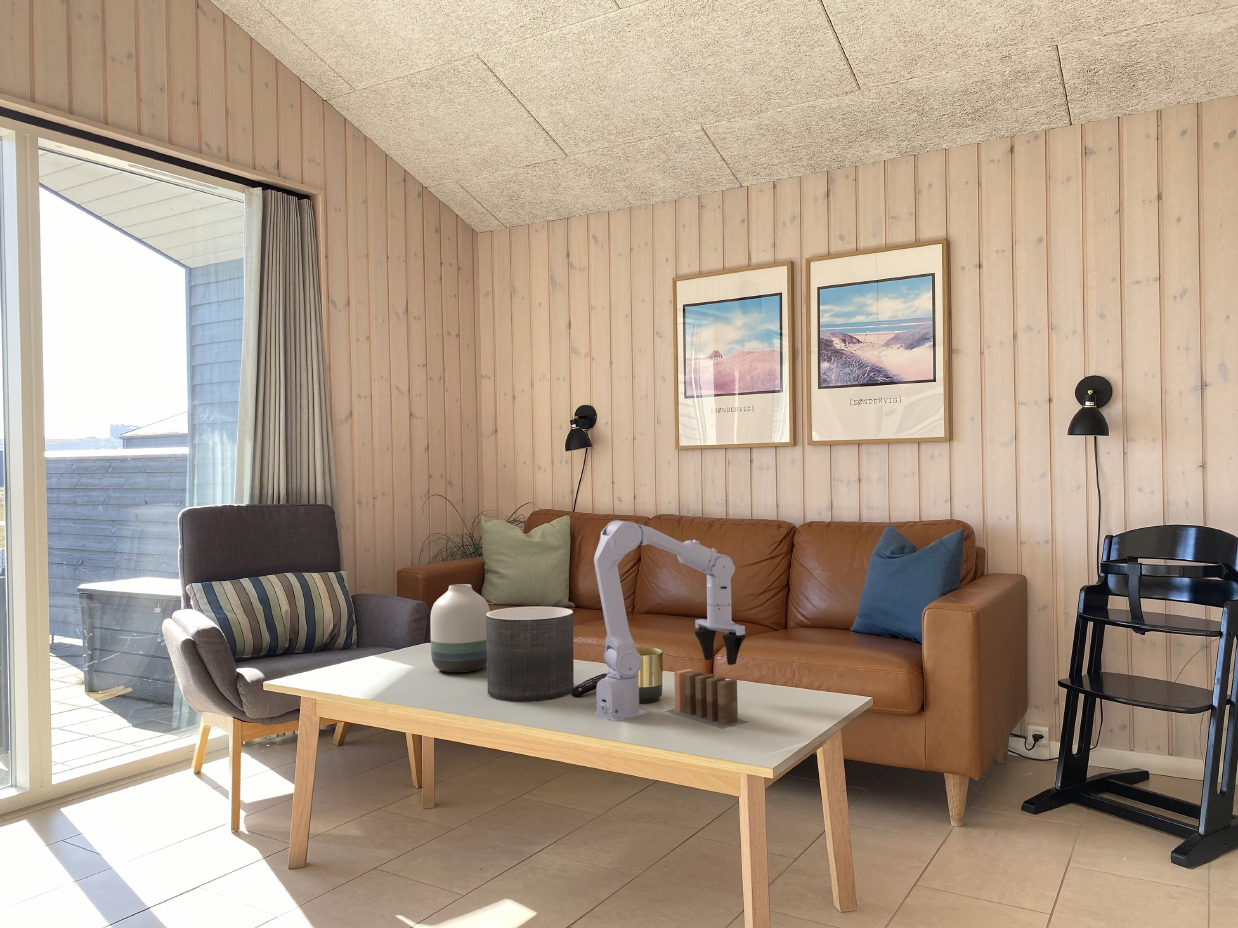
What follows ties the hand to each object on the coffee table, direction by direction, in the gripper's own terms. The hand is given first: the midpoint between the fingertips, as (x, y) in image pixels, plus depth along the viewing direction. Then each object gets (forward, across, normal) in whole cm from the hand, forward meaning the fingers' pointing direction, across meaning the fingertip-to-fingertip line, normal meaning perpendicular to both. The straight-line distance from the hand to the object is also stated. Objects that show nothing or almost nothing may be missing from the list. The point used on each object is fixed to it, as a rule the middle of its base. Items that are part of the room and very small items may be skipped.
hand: (720, 661), depth 209 cm
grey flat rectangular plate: (+10, -6, +11) cm, 16 cm away
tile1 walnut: (+10, -13, +11) cm, 19 cm away
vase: (+10, +78, +26) cm, 83 cm away
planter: (+10, +42, +26) cm, 50 cm away
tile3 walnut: (+10, -6, +11) cm, 16 cm away
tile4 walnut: (+10, -2, +11) cm, 15 cm away
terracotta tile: (+10, +1, +11) cm, 14 cm away
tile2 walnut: (+10, -9, +11) cm, 17 cm away
